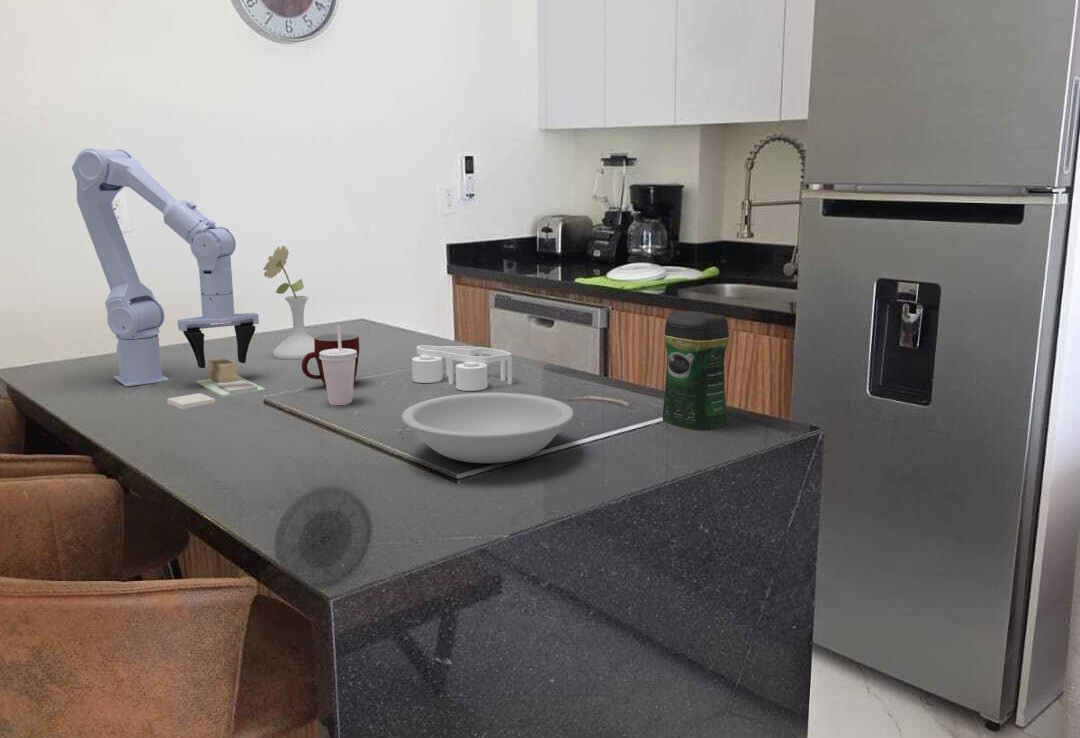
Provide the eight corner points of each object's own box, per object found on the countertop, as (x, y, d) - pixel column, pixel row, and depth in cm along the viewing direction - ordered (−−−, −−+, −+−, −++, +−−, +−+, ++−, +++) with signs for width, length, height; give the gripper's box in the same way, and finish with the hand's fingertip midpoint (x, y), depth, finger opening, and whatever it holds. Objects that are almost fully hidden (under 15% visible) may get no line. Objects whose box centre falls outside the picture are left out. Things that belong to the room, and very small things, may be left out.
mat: (196, 384, 179) (195, 380, 179) (237, 379, 184) (237, 375, 184) (222, 399, 167) (222, 395, 167) (265, 393, 172) (265, 388, 172)
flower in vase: (303, 353, 210) (297, 241, 205) (338, 359, 203) (332, 243, 198) (255, 363, 200) (247, 245, 194) (290, 369, 193) (283, 247, 188)
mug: (311, 398, 168) (308, 343, 166) (298, 390, 174) (294, 337, 172) (367, 391, 173) (365, 338, 171) (352, 383, 180) (349, 332, 178)
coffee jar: (734, 432, 145) (739, 313, 141) (699, 441, 140) (703, 318, 136) (688, 419, 152) (691, 306, 148) (653, 427, 147) (656, 310, 144)
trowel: (203, 379, 180) (202, 360, 179) (229, 376, 183) (228, 357, 182) (230, 393, 168) (228, 373, 168) (257, 389, 171) (256, 369, 170)
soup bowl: (512, 496, 117) (511, 445, 115) (367, 465, 129) (365, 419, 128) (603, 448, 137) (604, 404, 135) (470, 426, 149) (469, 385, 148)
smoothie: (367, 404, 163) (363, 325, 161) (344, 412, 158) (340, 330, 155) (337, 400, 166) (333, 322, 163) (314, 408, 160) (309, 328, 157)
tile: (167, 398, 164) (181, 404, 160) (200, 393, 168) (215, 398, 164) (167, 405, 164) (182, 412, 160) (200, 400, 169) (215, 406, 164)
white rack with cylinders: (400, 387, 177) (399, 349, 175) (440, 377, 185) (439, 341, 184) (480, 402, 165) (480, 361, 163) (519, 391, 173) (519, 352, 172)
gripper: (183, 298, 167) (189, 373, 170) (262, 292, 176) (267, 363, 179) (172, 294, 173) (178, 366, 176) (249, 289, 181) (253, 357, 184)
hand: (222, 364), depth 178 cm, fingers open, 7 cm apart
